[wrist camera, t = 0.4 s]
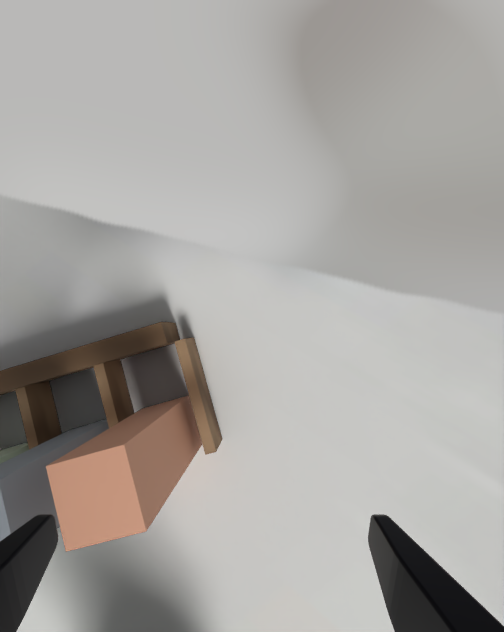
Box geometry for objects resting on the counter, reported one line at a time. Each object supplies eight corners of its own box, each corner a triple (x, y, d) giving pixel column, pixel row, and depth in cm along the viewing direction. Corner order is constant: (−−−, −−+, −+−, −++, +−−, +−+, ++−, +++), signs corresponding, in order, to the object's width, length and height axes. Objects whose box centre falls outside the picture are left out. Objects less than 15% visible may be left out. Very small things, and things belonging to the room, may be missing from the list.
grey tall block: (126, 465, 24) (18, 564, 14) (81, 477, 24) (-58, 584, 14) (114, 417, 24) (-2, 480, 14) (69, 429, 24) (-76, 500, 14)
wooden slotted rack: (222, 439, 23) (214, 455, 20) (-7, 501, 25) (-46, 525, 22) (188, 318, 24) (176, 317, 21) (-33, 385, 25) (-74, 393, 22)
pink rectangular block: (202, 444, 23) (146, 531, 13) (155, 457, 23) (66, 551, 13) (188, 395, 23) (124, 444, 13) (142, 408, 24) (45, 466, 14)
